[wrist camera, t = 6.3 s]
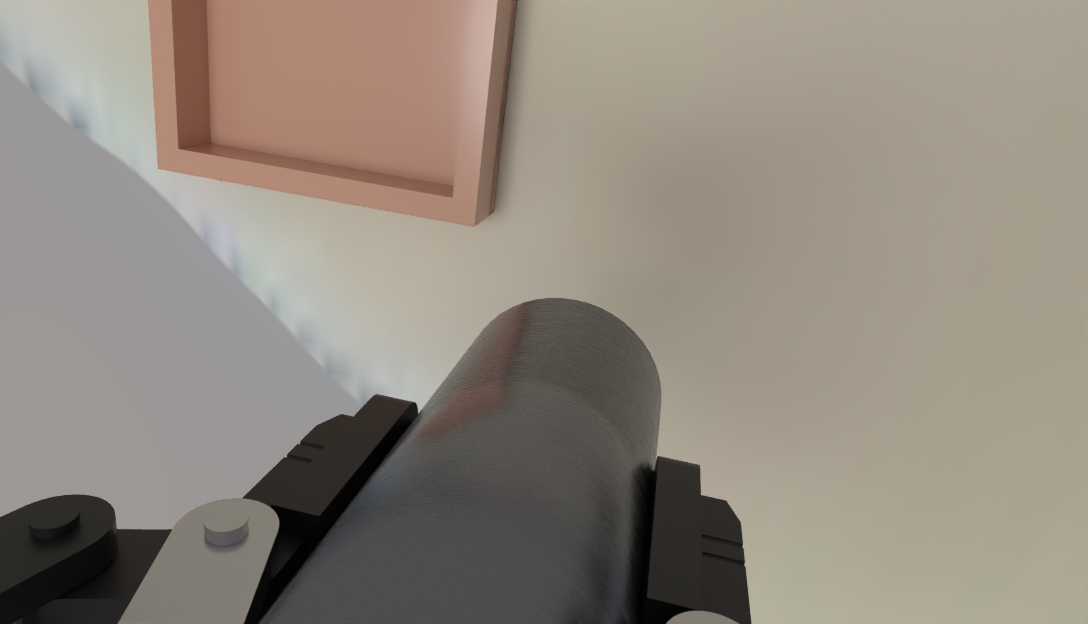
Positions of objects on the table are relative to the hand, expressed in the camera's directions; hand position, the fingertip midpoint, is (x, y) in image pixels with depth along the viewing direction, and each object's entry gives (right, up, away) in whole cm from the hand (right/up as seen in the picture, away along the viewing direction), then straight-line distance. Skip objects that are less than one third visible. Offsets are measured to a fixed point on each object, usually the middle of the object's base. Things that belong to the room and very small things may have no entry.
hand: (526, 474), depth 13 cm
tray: (-8, +14, +17) cm, 24 cm away
